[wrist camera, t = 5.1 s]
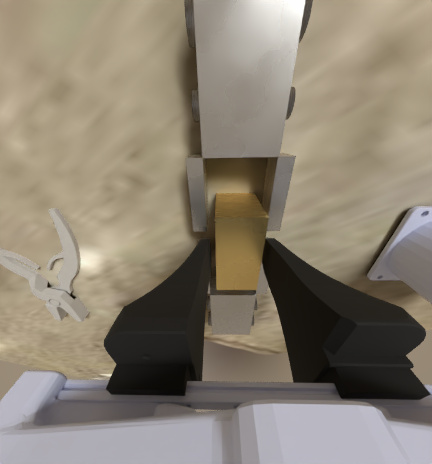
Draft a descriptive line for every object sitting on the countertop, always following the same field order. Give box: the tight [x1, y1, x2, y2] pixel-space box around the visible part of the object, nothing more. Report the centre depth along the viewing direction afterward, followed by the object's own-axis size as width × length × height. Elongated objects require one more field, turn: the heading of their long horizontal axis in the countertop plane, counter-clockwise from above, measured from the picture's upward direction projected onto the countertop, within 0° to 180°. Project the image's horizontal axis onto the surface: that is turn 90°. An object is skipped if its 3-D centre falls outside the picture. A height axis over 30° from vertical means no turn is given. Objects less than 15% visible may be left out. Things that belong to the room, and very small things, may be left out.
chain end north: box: [197, 237, 268, 335], centre depth 17 cm, size 6×12×2 cm, turn 1°
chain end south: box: [185, 0, 313, 231], centre depth 10 cm, size 6×12×2 cm, turn 1°
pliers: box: [0, 208, 89, 322], centre depth 17 cm, size 10×2×15 cm
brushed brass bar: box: [215, 193, 269, 290], centre depth 12 cm, size 3×6×4 cm, turn 1°
